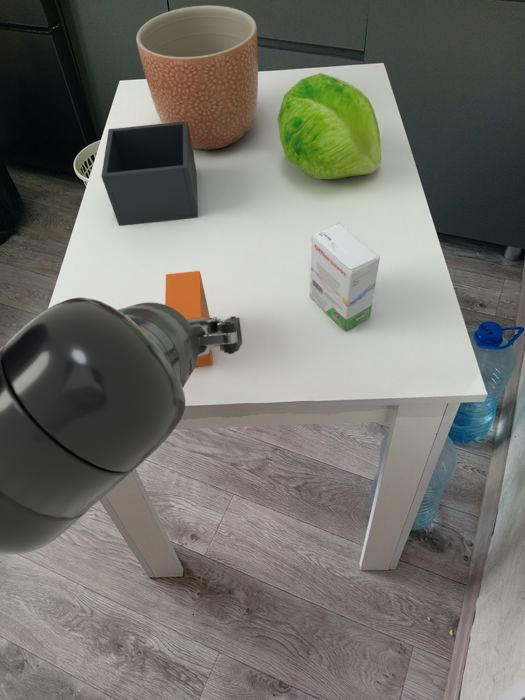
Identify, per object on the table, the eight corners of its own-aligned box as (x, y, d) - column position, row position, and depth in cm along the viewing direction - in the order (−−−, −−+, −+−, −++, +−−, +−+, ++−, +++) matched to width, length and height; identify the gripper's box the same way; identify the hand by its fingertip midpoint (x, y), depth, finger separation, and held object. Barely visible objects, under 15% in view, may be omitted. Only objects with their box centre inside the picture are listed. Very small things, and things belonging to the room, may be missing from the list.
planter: (138, 139, 103) (110, 37, 88) (210, 96, 112) (196, -4, 96) (212, 176, 94) (196, 70, 79) (283, 126, 103) (281, 21, 88)
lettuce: (350, 219, 87) (413, 138, 79) (251, 150, 83) (306, 57, 74) (349, 188, 101) (402, 116, 93) (264, 128, 97) (311, 47, 88)
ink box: (371, 316, 73) (383, 255, 63) (344, 332, 71) (351, 272, 62) (334, 281, 77) (339, 219, 68) (308, 295, 76) (309, 234, 66)
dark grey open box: (118, 225, 87) (101, 176, 80) (124, 178, 96) (108, 128, 88) (197, 217, 88) (188, 167, 80) (196, 170, 96) (187, 120, 88)
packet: (180, 368, 69) (164, 321, 61) (180, 323, 74) (165, 274, 66) (212, 365, 69) (201, 317, 61) (210, 320, 74) (199, 270, 66)
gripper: (232, 295, 36) (237, 288, 52) (32, 316, 36) (99, 303, 52) (244, 397, 37) (245, 360, 53) (50, 418, 37) (110, 374, 53)
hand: (173, 332), depth 53 cm, fingers open, 8 cm apart
